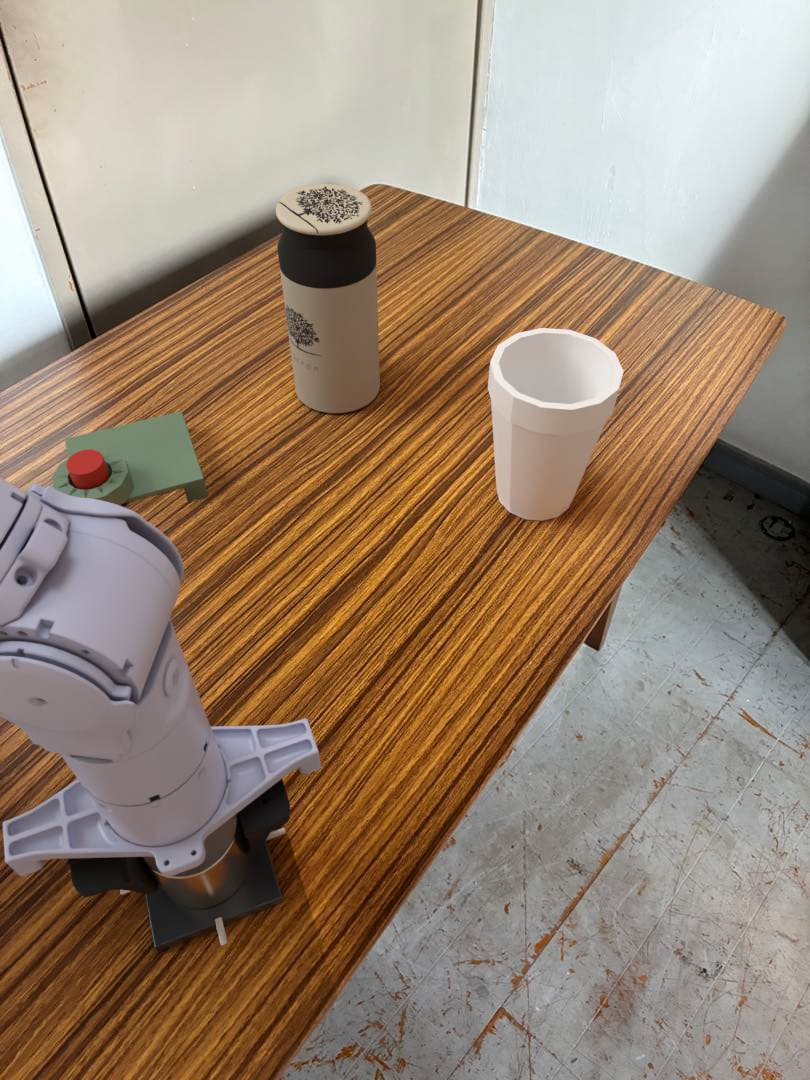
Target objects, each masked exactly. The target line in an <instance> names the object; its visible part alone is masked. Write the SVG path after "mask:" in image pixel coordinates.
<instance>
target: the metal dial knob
mask: <svg viewBox="0 0 810 1080" xmlns="http://www.w3.org/2000/svg"><path fill="white" fill-rule="evenodd" d="M204 847H205V851H206V855H205V859H204V861H203V863H202V864H200V865H199V866H197V867H194V868H192V869H189V870H186V871H184V872H181V873H178V874H176V875H173V876H165V875H163V874H161V872H160V871H159V869H158V867H157V865H156V860H155V858H154V857H141V858H142V860H143V861H144V863H145V865H146V866H147V867H148V869H149V870H150V872H151V873H152V875H153V876H154V878H155V879H156V880H157V882H158V883H159V885H160V886H161V888H162V889H163V891H164V892H165V893H166V895H167V896H168V897H169V898H170V899H171V900H172V901H174V902H175V903H177V904H179V905H181V906H183V907H187V908H193V909H203V908H208V907H212V906H215V905H217V904H219V903H221V902H223V901H225V900H226V899H228V898H229V897H230V896H232V895H233V894H234V893H235V892H236V891H237V890H238V888H239V887H240V886H241V885H242V883H243V881H244V880H245V878H246V876H247V874H248V871H249V868H250V864H251V852H250V849H249V845H248V841H247V839H246V838H245V835H244V831H243V828H242V824H241V820H240V816H239V813H237V814H235V815H234V816H233V817H232V818H230V819H229V820H228V821H226V822H225V823H224V824H222V825H221V826H220V827H219V828H217V829H216V830H215V831H213V832H212V833H211V834H210V835H208V836H207V837H206V839H205V841H204Z"/></svg>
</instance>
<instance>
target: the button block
mask: <svg viewBox="0 0 810 1080" xmlns="http://www.w3.org/2000/svg"><path fill="white" fill-rule="evenodd" d="M64 443H65V448H66V453H67V458H66V459H65V460H64V461H62V462H61V463H59V464H58V466H57V467H56V469H55V471H54V473H53V474H52V476H51V482H52V488H54V489H56V490H58V491H60V492H62V493H64V494H67V495H70V496H74V497H81V498H91V499H97V500H102V501H106V502H110V503H113V504H116V505H119V506H122V505H123V504H128V503H131V502H135V501H138V500H142V499H145V498H150V497H153V496H157V495H161V494H165V493H169V492H172V491H177V490H180V489H183V490H184V494H185V497H186V501H187V502H188V503H189V502H193V501H197V500H199V499H205V498H207V497H209V493H208V489H207V484H206V481H205V478H204V475H203V472H202V469H201V465H200V463H199V459H198V457H197V453H196V449H195V447H194V444H193V441H192V438H191V434H190V432H189V428H188V425H187V423H186V419H185V416H184V414H183V411H182V410H180V411H175V412H171V413H168V414H167V413H166V414H163V415H159V416H155V417H150V418H146V419H142V420H139V421H138V420H137V421H135V422H134V421H133V422H130V423H126V424H121V425H117V426H114V427H109V428H105V429H100V430H96V431H92V432H88V433H84V434H80V435H77V436H72V437H68V438H65V439H64ZM87 449H92V450H96V451H99V452H100V453H101V454H102V455H103V457H104V460H105V462H106V465H107V468H108V470H109V478H108V480H107V481H106V482H105V483H104V484H102V485H101V486H99V487H97V488H93V489H89V490H83V489H79V488H77V487H76V486H75V485H74V483H73V481H72V479H71V477H70V474H69V472H68V470H67V467H66V464H67V461H68V459H69V458H70V457H71V456H72V455H73V454H75V453H76V452H79V451H82V450H87Z"/></svg>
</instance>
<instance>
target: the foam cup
mask: <svg viewBox="0 0 810 1080" xmlns="http://www.w3.org/2000/svg"><path fill="white" fill-rule="evenodd" d="M488 371H489V372H488V380H487V390H488V394H489V398H490V407H491V421H492V422H491V423H492V439H493V454H494V455H493V457H494V475H495V487H496V493H497V497H498V502H499V503H500V504H501V505H502V506H503V507H504V508H505V509H506V510H507V511H508V512H509V513H510V514H512V515H514V516H517V517H519V518H521V519H523V520H530V521H539V522H541V521H542V522H544V521H547V520H552V519H555V518H559V517H560V516H561V515H562V514H564V513H565V512H566V511H567V510H568V509H569V508H570V506H571V504H572V503H573V501H574V498H575V495H576V494H577V491H578V488H579V486H580V484H581V482H582V479H583V477H584V475H585V472H586V470H587V467H588V465H589V463H590V461H591V458H592V456H593V454H594V451H595V449H596V446H597V445H598V442H599V439H600V437H601V435H602V433H603V430H604V428H605V427H606V423H607V420H608V419H609V418H610V417H612V416H613V414H614V409H615V406H616V403H617V399H618V395H619V391H620V387H621V384H622V380H623V376H624V371H625V370H624V369H623V367H622V365H621V363H620V361H619V358H618V355H617V353H615V352H614V351H613V350H612V349H610V348H609V347H608V346H606V345H605V344H604V343H603V342H601V341H600V340H599V339H597V338H595V337H592V336H589V335H587V334H584V333H581V332H578V331H575V330H572V329H564V328H550V327H540V328H539V327H538V328H535V329H529V330H525V331H521V332H515V334H513V335H512V336H510V337H508V338H507V339H506V340H504V341H502V342H500V343H499V344H497V346H496V348H495V351H494V352H493V355H492V357H491V359H490V361H489V370H488Z"/></svg>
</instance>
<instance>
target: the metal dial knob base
mask: <svg viewBox="0 0 810 1080" xmlns="http://www.w3.org/2000/svg"><path fill="white" fill-rule="evenodd" d="M238 813H239V812H238ZM285 835H287V830H286V827H285V826H284V827H281V828H278V829H276V830H272V831H271V833H270V834H269V835H268V837H267V839H266V842H265V845H264V849H263V851H262V852H259V853H256V854H254V855H252V854H251V864H250V868H249V871H248V874H247V876H246V878H245V880H244V881H243V883H242V885H241V886H240V887H239V888H238V890H237V891H236V892H235V893H234V894H233V895H232V896H230V897H229V898H228V899H226V900H225V901H223V902H221V903H219V904H217V905H215V906H212V907H208V908H203V909H193V908H187V907H183V906H181V905H179V904H177V903H175V902H174V901H172V900H171V899H170V898H169V897H168V896H167V895H166V893H165V892H164V891H163V889H162V888H161V886H160V885H159V883H158V885H159V890H158V891H156V892H153V893H150V894H144V896H145V902H146V908H147V914H148V919H149V925H150V931H151V937H152V941H153V948H154V949H155V950H156V952H161V951H165V950H167V949H169V948H171V947H175V946H176V945H179V944H182V943H184V942H186V941H187V942H188V941H189V940H192V939H195V938H197V937H199V936H202V935H204V934H207V933H209V932H212V931H215V930H217V935H218V939H219V944H220V946H221V947H223V946H225V945H228V944H229V942H228V938H227V933H226V929H225V926H228V925H231V924H232V923H234V922H237V921H240V920H242V919H245V918H247V917H250V916H253V915H254V914H258V913H260V912H262V911H265V910H267V909H270V908H272V907H275V906H278V905H281V904H283V903H284V897H283V894H282V889H281V887H280V883H279V880H278V876H277V872H276V869H275V866H274V862H273V858H272V855H271V851H270V848H269V844H268V842H269V841H271V840H274V839H277V838H279V837H282V836H285ZM132 892H134V891H128V890H119V893H120V896H121V897H122V896H125V895H127V894H129V893H132Z"/></svg>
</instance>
